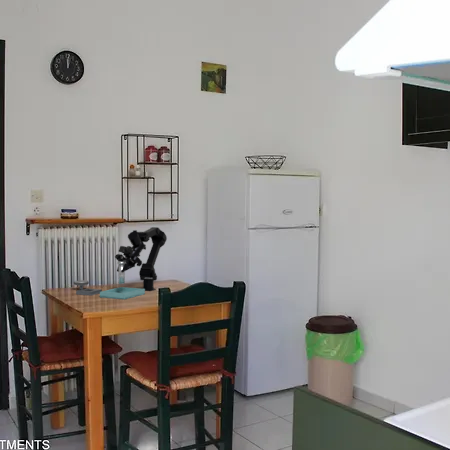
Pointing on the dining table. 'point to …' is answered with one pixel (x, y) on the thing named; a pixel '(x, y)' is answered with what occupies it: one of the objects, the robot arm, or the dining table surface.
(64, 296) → the dining table surface
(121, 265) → the pin
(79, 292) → the pin collar
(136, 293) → the tray
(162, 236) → the robot arm
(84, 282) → the silver round knob
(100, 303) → the dining table surface
